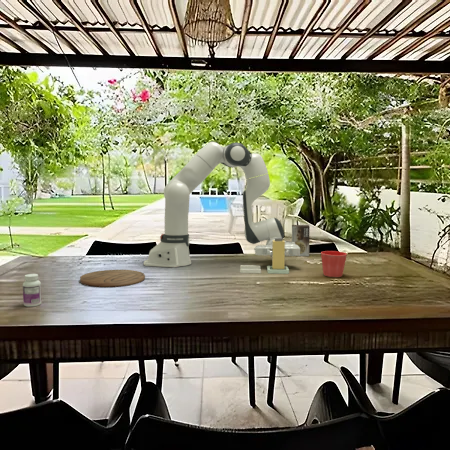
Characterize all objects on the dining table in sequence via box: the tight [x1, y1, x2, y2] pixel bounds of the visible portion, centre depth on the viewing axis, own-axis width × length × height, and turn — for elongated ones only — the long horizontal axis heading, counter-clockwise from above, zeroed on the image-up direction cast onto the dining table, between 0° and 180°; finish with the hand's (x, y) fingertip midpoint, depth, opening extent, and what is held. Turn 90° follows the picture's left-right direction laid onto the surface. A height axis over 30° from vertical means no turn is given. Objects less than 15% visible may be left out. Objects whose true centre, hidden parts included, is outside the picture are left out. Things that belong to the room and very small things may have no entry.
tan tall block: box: [271, 238, 286, 269], centre depth 194 cm, size 5×5×13 cm
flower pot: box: [320, 250, 348, 278], centre depth 187 cm, size 11×11×10 cm
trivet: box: [79, 269, 146, 288], centre depth 176 cm, size 25×25×2 cm
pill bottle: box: [22, 273, 43, 308], centre depth 140 cm, size 5×5×10 cm
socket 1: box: [239, 264, 262, 274], centre depth 195 cm, size 9×9×2 cm
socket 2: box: [266, 265, 290, 275], centre depth 194 cm, size 9×9×2 cm
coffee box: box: [291, 224, 311, 257], centre depth 236 cm, size 9×6×16 cm
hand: (278, 253), depth 193 cm, fingers closed on tan tall block, 5 cm apart
